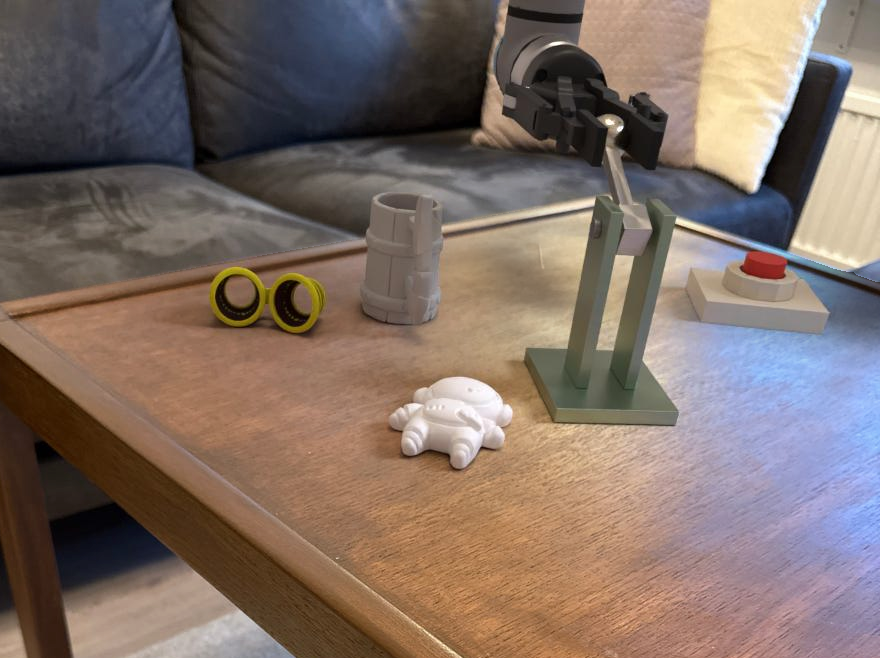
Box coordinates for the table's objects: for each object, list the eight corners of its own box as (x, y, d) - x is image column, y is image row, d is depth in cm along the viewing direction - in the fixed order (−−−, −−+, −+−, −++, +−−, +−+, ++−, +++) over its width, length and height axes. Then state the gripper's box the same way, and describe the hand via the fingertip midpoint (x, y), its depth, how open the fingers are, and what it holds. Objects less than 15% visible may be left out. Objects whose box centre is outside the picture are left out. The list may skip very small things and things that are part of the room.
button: (776, 271, 100) (782, 253, 99) (786, 284, 97) (791, 266, 96) (737, 267, 100) (742, 249, 99) (745, 280, 97) (750, 262, 96)
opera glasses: (325, 327, 91) (328, 270, 88) (317, 337, 86) (320, 277, 84) (222, 316, 91) (222, 259, 89) (208, 325, 86) (208, 265, 84)
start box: (797, 299, 105) (809, 261, 102) (821, 334, 97) (836, 294, 94) (685, 288, 105) (694, 250, 102) (700, 322, 97) (711, 282, 94)
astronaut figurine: (367, 447, 71) (369, 409, 70) (429, 388, 80) (432, 352, 78) (479, 478, 69) (485, 439, 67) (530, 413, 78) (536, 377, 76)
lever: (575, 144, 82) (587, 102, 78) (617, 147, 82) (630, 105, 79) (603, 261, 75) (618, 221, 72) (649, 263, 75) (665, 223, 72)
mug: (427, 295, 97) (439, 164, 90) (460, 343, 88) (477, 202, 81) (351, 296, 95) (357, 162, 88) (378, 344, 86) (387, 201, 79)
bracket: (523, 360, 86) (552, 180, 77) (633, 363, 87) (674, 186, 78) (554, 422, 77) (591, 226, 68) (676, 425, 78) (728, 233, 69)
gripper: (633, 138, 96) (717, 207, 78) (466, 127, 94) (512, 195, 76) (652, 49, 91) (746, 101, 73) (476, 36, 89) (528, 86, 71)
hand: (627, 149), depth 75 cm, fingers closed on lever, 4 cm apart
